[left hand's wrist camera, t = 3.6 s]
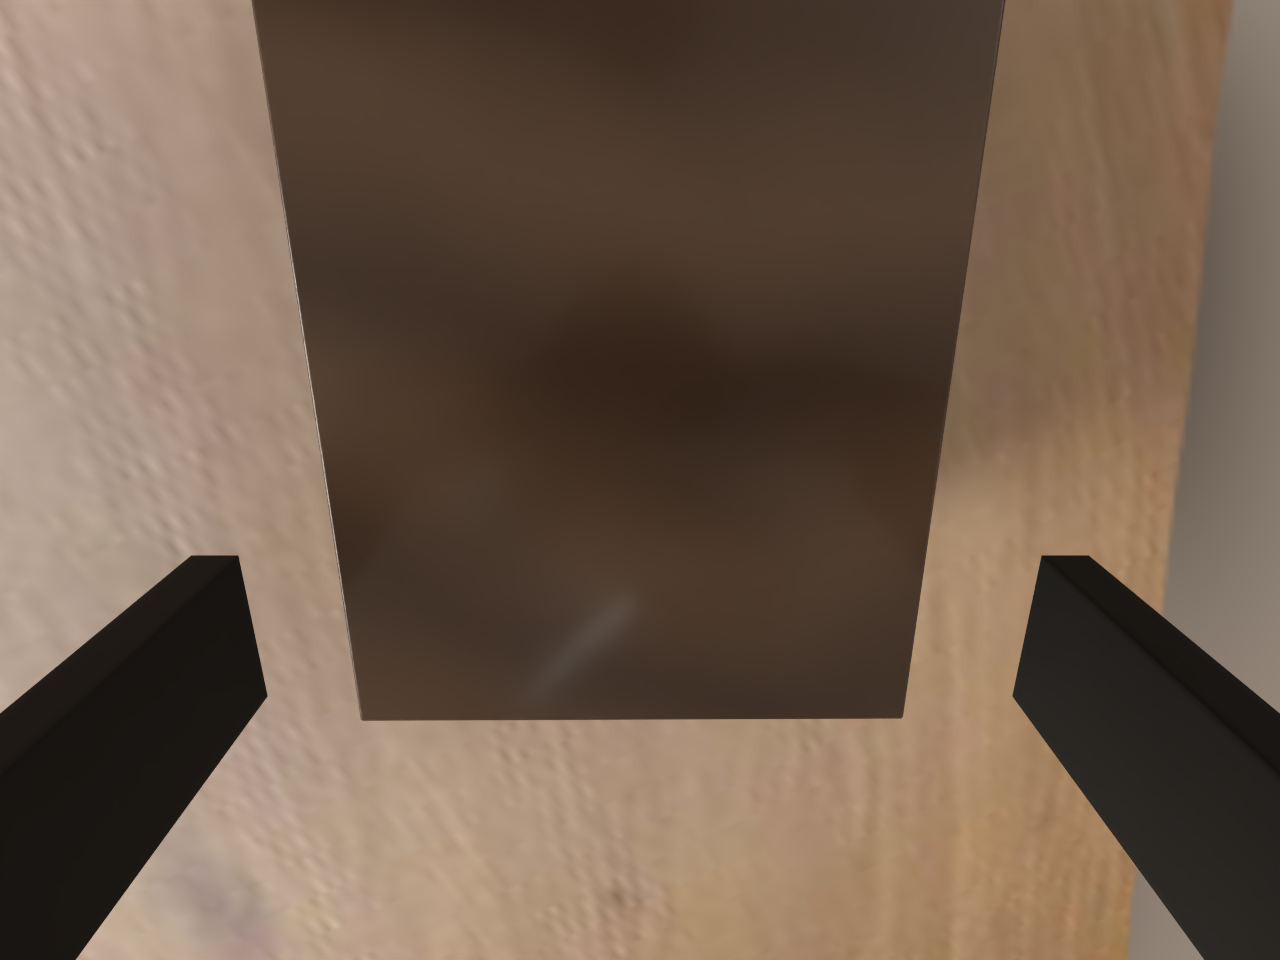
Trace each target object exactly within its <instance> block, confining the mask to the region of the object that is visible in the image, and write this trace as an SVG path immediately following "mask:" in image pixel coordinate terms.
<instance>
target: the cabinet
mask: <svg viewBox="0 0 1280 960" xmlns="http://www.w3.org/2000/svg"><path fill="white" fill-rule="evenodd" d="M252 6H253V12H254V19H255V26H256V32H257V39H258V45H259V52H260V58H261V65H262V72H263V78H264V85H265V91H266V98H267V104H268V111H269V118H270V124H271V131H272V137H273V144H274V150H275V157H276V164H277V170H278V177H279V183H280V190H281V197H282V203H283V210H284V216H285V223H286V229H287V236H288V243H289V249H290V256H291V262H292V269H293V275H294V282H295V289H296V295H297V302H298V308H299V315H300V321H301V328H302V335H303V341H304V348H305V354H306V361H307V368H308V374H309V381H310V387H311V394H312V400H313V407H314V414H315V420H316V427H317V433H318V440H319V446H320V453H321V460H322V466H323V473H324V479H325V486H326V492H327V499H328V506H329V512H330V519H331V525H332V532H333V539H334V545H335V552H336V558H337V565H338V571H339V578H340V585H341V591H342V598H343V604H344V611H345V617H346V624H347V631H348V637H349V644H350V650H351V657H352V663H353V670H354V677H355V683H356V690H357V696H358V703H359V709H360V716H361V720H363V721H386V720H630V719H873V718H902V717H903V712H904V705H905V698H906V691H907V684H908V677H909V670H910V663H911V656H912V649H913V642H914V635H915V628H916V621H917V614H918V607H919V600H920V593H921V586H922V579H923V572H924V565H925V558H926V551H927V544H928V537H929V530H930V523H931V516H932V509H933V502H934V495H935V488H936V481H937V474H938V467H939V460H940V453H941V446H942V439H943V432H944V425H945V418H946V411H947V404H948V397H949V390H950V383H951V376H952V369H953V362H954V355H955V348H956V341H957V334H958V327H959V320H960V313H961V306H962V300H963V293H964V286H965V279H966V272H967V265H968V258H969V251H970V244H971V237H972V230H973V223H974V216H975V209H976V202H977V195H978V188H979V181H980V174H981V167H982V160H983V153H984V146H985V139H986V132H987V125H988V118H989V111H990V104H991V97H992V90H993V83H994V76H995V69H996V62H997V55H998V48H999V41H1000V34H1001V27H1002V20H1003V13H1004V6H1005V0H252Z"/></svg>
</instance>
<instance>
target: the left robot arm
mask: <svg viewBox="0 0 1280 960" xmlns="http://www.w3.org/2000/svg"><path fill="white" fill-rule="evenodd" d="M266 698H267V691H266V687H265V682H264V677H263V672H262V667H261V663H260V658H259V653H258V648H257V643H256V638H255V634H254V629H253V624H252V619H251V614H250V610H249V605H248V600H247V595H246V590H245V586H244V581H243V576H242V571H241V566H240V562H239V557H238V556H190V557H189V558H188V559H187V560H185V561H184V562H183V563H182V564H181V565H179V566H178V567H177V568H176V569H175V570H173V571H172V572H171V573H170V574H168V575H167V576H166V577H165V578H164V579H162V580H161V581H160V582H159V583H158V584H156V585H155V586H154V587H153V588H152V589H150V590H149V591H148V592H147V593H145V594H144V595H143V596H142V597H141V598H139V599H138V600H137V601H136V602H135V603H133V604H132V605H131V606H130V607H129V608H127V609H126V610H125V611H124V612H122V613H121V614H120V615H119V616H118V617H116V618H115V619H114V620H113V621H112V622H110V623H109V624H108V625H107V626H106V627H104V628H103V629H102V630H101V631H100V632H98V633H97V634H96V635H95V636H93V637H92V638H91V639H90V640H89V641H87V642H86V643H85V644H84V645H83V646H81V647H80V648H79V649H78V650H77V651H75V652H74V653H73V654H72V655H70V656H69V657H68V658H67V659H66V660H64V661H63V662H62V663H61V664H60V665H58V666H57V667H56V668H55V669H54V670H52V671H51V672H50V673H49V674H48V675H46V676H45V677H44V678H43V679H41V680H40V681H39V682H38V683H37V684H35V685H34V686H33V687H32V688H31V689H29V690H28V691H27V692H26V693H25V694H23V695H22V696H21V697H20V698H18V699H17V700H16V701H15V702H14V703H12V704H11V705H10V706H9V707H8V708H6V709H5V710H4V711H3V712H2V713H0V960H76V958H77V957H78V956H79V954H80V953H81V952H82V950H83V949H84V947H85V946H86V945H87V943H88V942H89V941H90V939H91V938H92V936H93V935H94V934H95V932H96V931H97V930H98V928H99V927H100V926H101V924H102V923H103V921H104V920H105V919H106V917H107V916H108V915H109V913H110V912H111V910H112V909H113V908H114V906H115V905H116V904H117V902H118V901H119V899H120V898H121V897H122V895H123V894H124V893H125V891H126V890H127V888H128V887H129V886H130V884H131V883H132V882H133V880H134V879H135V877H136V876H137V875H138V873H139V872H140V871H141V869H142V868H143V866H144V865H145V864H146V862H147V861H148V860H149V858H150V857H151V855H152V854H153V853H154V851H155V850H156V849H157V847H158V846H159V844H160V843H161V842H162V840H163V839H164V838H165V836H166V835H167V833H168V832H169V831H170V829H171V828H172V827H173V825H174V824H175V823H176V821H177V820H178V818H179V817H180V816H181V814H182V813H183V812H184V810H185V809H186V807H187V806H188V805H189V803H190V802H191V801H192V799H193V798H194V796H195V795H196V794H197V792H198V791H199V790H200V788H201V787H202V785H203V784H204V783H205V781H206V780H207V779H208V777H209V776H210V774H211V773H212V772H213V770H214V769H215V768H216V766H217V765H218V763H219V762H220V761H221V759H222V758H223V757H224V755H225V754H226V752H227V751H228V750H229V748H230V747H231V746H232V744H233V743H234V741H235V740H236V739H237V737H238V736H239V735H240V733H241V732H242V731H243V729H244V728H245V726H246V725H247V724H248V722H249V721H250V720H251V718H252V717H253V715H254V714H255V713H256V711H257V710H258V709H259V707H260V706H261V704H262V703H263V702H264V700H265V699H266ZM1013 698H1014V699H1015V700H1016V702H1017V703H1018V704H1019V706H1020V707H1021V709H1022V710H1023V711H1024V713H1025V714H1026V715H1027V717H1028V718H1029V720H1030V721H1031V722H1032V724H1033V725H1034V726H1035V728H1036V729H1037V731H1038V732H1039V733H1040V735H1041V736H1042V737H1043V739H1044V740H1045V741H1046V743H1047V744H1048V746H1049V747H1050V748H1051V750H1052V751H1053V752H1054V754H1055V755H1056V757H1057V758H1058V759H1059V761H1060V762H1061V763H1062V765H1063V766H1064V768H1065V769H1066V770H1067V772H1068V773H1069V774H1070V776H1071V777H1072V779H1073V780H1074V781H1075V783H1076V784H1077V785H1078V787H1079V788H1080V790H1081V791H1082V792H1083V794H1084V795H1085V796H1086V798H1087V799H1088V801H1089V802H1090V803H1091V805H1092V806H1093V807H1094V809H1095V810H1096V812H1097V813H1098V814H1099V816H1100V817H1101V818H1102V820H1103V821H1104V823H1105V824H1106V825H1107V827H1108V828H1109V829H1110V831H1111V832H1112V833H1113V835H1114V836H1115V838H1116V839H1117V840H1118V842H1119V843H1120V844H1121V846H1122V847H1123V849H1124V850H1125V851H1126V853H1127V854H1128V855H1129V857H1130V858H1131V860H1132V861H1133V862H1134V864H1135V865H1136V866H1137V868H1138V869H1139V871H1140V872H1141V873H1142V875H1143V876H1144V877H1145V879H1146V880H1147V882H1148V883H1149V884H1150V886H1151V887H1152V888H1153V890H1154V891H1155V892H1156V894H1157V895H1158V897H1159V898H1160V899H1161V901H1162V902H1163V904H1164V905H1165V906H1166V908H1167V909H1168V910H1169V912H1170V913H1171V914H1172V916H1173V917H1174V919H1175V920H1176V921H1177V923H1178V924H1179V926H1180V927H1181V928H1182V930H1183V931H1184V932H1185V934H1186V935H1187V936H1188V938H1189V939H1190V941H1191V942H1192V943H1193V945H1194V946H1195V947H1196V949H1197V950H1198V952H1199V953H1200V954H1201V956H1202V957H1203V958H1204V960H1280V713H1278V712H1277V711H1276V710H1275V709H1274V708H1272V707H1271V706H1270V705H1269V704H1268V703H1266V702H1265V701H1264V700H1263V699H1261V698H1260V697H1259V696H1258V695H1257V694H1255V693H1254V692H1253V691H1252V690H1251V689H1249V688H1248V687H1247V686H1246V685H1245V684H1243V683H1242V682H1241V681H1240V680H1239V679H1237V678H1236V677H1235V676H1234V675H1232V674H1231V673H1230V672H1229V671H1228V670H1226V669H1225V668H1224V667H1223V666H1222V665H1220V664H1219V663H1218V662H1217V661H1216V660H1214V659H1213V658H1212V657H1211V656H1209V655H1208V654H1207V653H1206V652H1205V651H1203V650H1202V649H1201V648H1200V647H1198V646H1197V645H1196V644H1195V643H1194V642H1192V641H1191V640H1190V639H1189V638H1188V637H1187V636H1185V635H1184V634H1183V633H1182V632H1180V631H1179V630H1178V629H1177V628H1176V627H1174V626H1173V625H1172V624H1171V623H1170V622H1168V621H1167V620H1166V619H1165V618H1164V617H1162V616H1161V615H1160V614H1159V613H1158V612H1156V611H1155V610H1154V609H1153V608H1151V607H1150V606H1149V605H1148V604H1147V603H1145V602H1144V601H1143V600H1142V599H1141V598H1139V597H1138V596H1137V595H1136V594H1135V593H1133V592H1132V591H1131V590H1130V589H1128V588H1127V587H1126V586H1125V585H1124V584H1122V583H1121V582H1120V581H1119V580H1118V579H1116V578H1115V577H1114V576H1113V575H1112V574H1110V573H1109V572H1108V571H1107V570H1105V569H1104V568H1103V567H1102V566H1101V565H1099V564H1098V563H1097V562H1096V561H1095V560H1093V559H1092V558H1091V557H1090V556H1042V557H1041V562H1040V566H1039V571H1038V576H1037V581H1036V586H1035V590H1034V595H1033V600H1032V605H1031V610H1030V614H1029V619H1028V624H1027V629H1026V634H1025V638H1024V643H1023V648H1022V653H1021V658H1020V663H1019V667H1018V672H1017V677H1016V682H1015V687H1014V691H1013Z"/></svg>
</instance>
